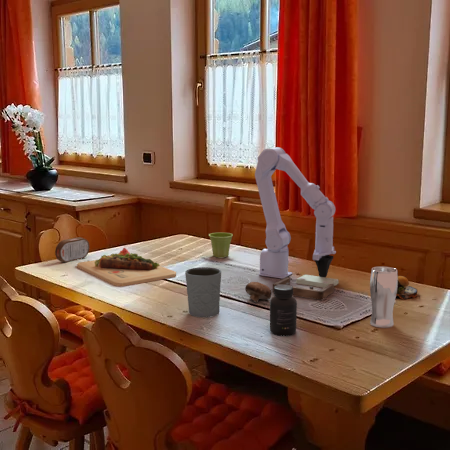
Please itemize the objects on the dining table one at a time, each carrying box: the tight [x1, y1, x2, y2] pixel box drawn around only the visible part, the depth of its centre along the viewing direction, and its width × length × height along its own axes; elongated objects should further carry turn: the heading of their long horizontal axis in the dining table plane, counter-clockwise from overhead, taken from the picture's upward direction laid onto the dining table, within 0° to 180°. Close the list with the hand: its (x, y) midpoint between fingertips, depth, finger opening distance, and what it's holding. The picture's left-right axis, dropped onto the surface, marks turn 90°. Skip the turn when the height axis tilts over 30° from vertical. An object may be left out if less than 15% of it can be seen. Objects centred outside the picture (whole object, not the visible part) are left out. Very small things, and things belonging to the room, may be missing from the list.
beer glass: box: [369, 266, 398, 329], centre depth 160 cm, size 7×7×15 cm
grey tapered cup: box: [185, 266, 222, 318], centre depth 170 cm, size 10×10×12 cm
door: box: [295, 274, 339, 289], centre depth 201 cm, size 12×7×2 cm, turn 58°
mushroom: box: [244, 281, 272, 303], centre depth 182 cm, size 8×8×6 cm
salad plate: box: [396, 272, 418, 300], centre depth 189 cm, size 12×12×8 cm
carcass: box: [272, 276, 335, 301], centre depth 191 cm, size 16×10×3 cm, turn 59°
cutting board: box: [76, 247, 177, 287], centre depth 216 cm, size 35×23×8 cm
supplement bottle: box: [269, 284, 298, 337], centre depth 154 cm, size 7×7×12 cm
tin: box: [54, 236, 90, 263], centre depth 233 cm, size 15×3×8 cm, turn 144°
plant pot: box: [208, 232, 234, 259], centre depth 240 cm, size 9×9×9 cm
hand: (322, 276), depth 205 cm, fingers closed
